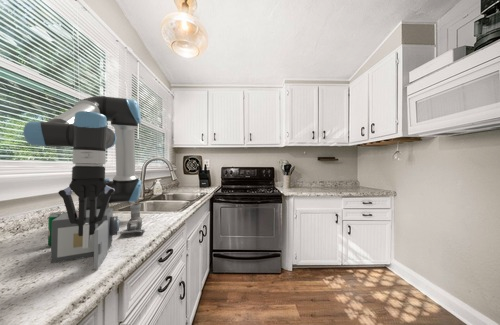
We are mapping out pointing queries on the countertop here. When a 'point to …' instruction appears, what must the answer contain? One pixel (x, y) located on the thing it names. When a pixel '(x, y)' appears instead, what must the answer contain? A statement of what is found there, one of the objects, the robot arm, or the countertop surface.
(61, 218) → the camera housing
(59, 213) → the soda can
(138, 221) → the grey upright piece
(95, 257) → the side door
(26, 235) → the countertop surface
